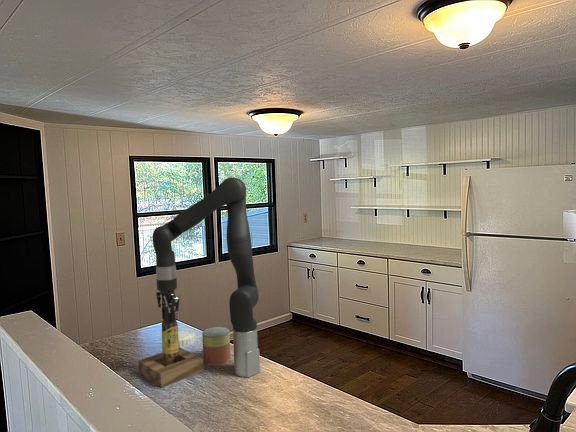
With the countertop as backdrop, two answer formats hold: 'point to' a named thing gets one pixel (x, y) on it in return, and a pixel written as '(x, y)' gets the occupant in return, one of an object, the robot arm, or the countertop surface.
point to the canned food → (216, 346)
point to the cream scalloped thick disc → (185, 338)
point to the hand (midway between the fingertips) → (168, 320)
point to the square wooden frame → (170, 367)
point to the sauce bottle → (169, 336)
